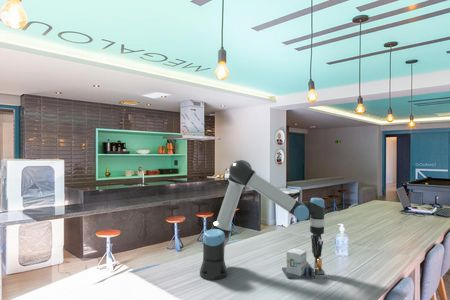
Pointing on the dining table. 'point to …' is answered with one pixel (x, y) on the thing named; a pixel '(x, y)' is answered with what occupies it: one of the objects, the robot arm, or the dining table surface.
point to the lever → (319, 267)
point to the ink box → (296, 261)
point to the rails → (321, 276)
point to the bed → (307, 275)
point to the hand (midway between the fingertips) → (316, 267)
